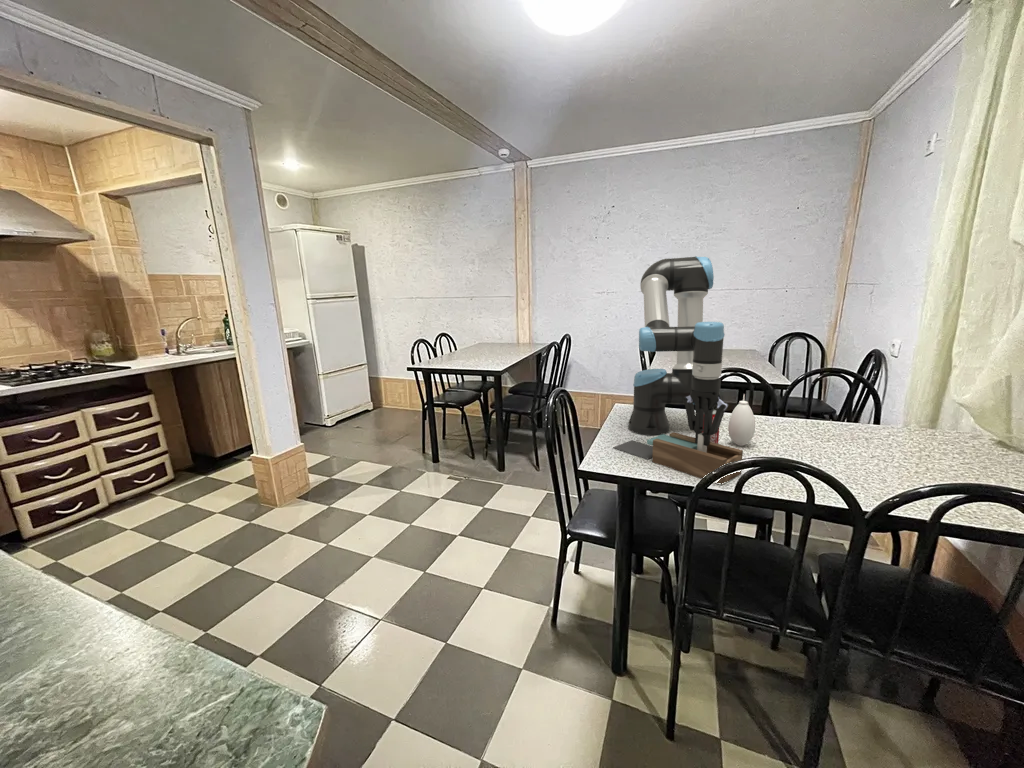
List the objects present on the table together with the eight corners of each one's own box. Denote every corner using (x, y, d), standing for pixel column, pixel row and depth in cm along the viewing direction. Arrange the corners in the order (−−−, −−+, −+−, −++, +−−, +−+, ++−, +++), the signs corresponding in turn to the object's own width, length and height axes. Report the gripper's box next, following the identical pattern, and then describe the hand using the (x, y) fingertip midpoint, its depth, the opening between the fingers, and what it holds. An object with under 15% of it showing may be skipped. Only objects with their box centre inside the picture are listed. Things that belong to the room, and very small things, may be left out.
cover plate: (662, 437, 138) (663, 433, 138) (700, 447, 128) (700, 444, 128) (646, 443, 133) (646, 440, 133) (684, 455, 123) (684, 451, 123)
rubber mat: (632, 441, 150) (632, 440, 150) (666, 451, 139) (666, 450, 139) (613, 448, 144) (613, 447, 144) (647, 459, 133) (647, 458, 133)
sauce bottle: (735, 439, 147) (738, 390, 144) (758, 445, 141) (762, 393, 137) (722, 444, 143) (726, 393, 139) (745, 450, 137) (749, 397, 133)
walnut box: (672, 453, 137) (673, 432, 136) (740, 474, 120) (742, 450, 119) (652, 462, 131) (652, 440, 130) (721, 485, 114) (723, 460, 112)
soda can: (708, 453, 136) (710, 415, 133) (690, 447, 142) (691, 410, 139) (722, 449, 139) (725, 411, 136) (704, 443, 145) (706, 407, 142)
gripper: (677, 375, 121) (674, 451, 126) (722, 382, 111) (716, 464, 116) (691, 372, 125) (688, 445, 130) (736, 377, 115) (730, 457, 120)
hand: (701, 454), depth 123 cm, fingers closed
